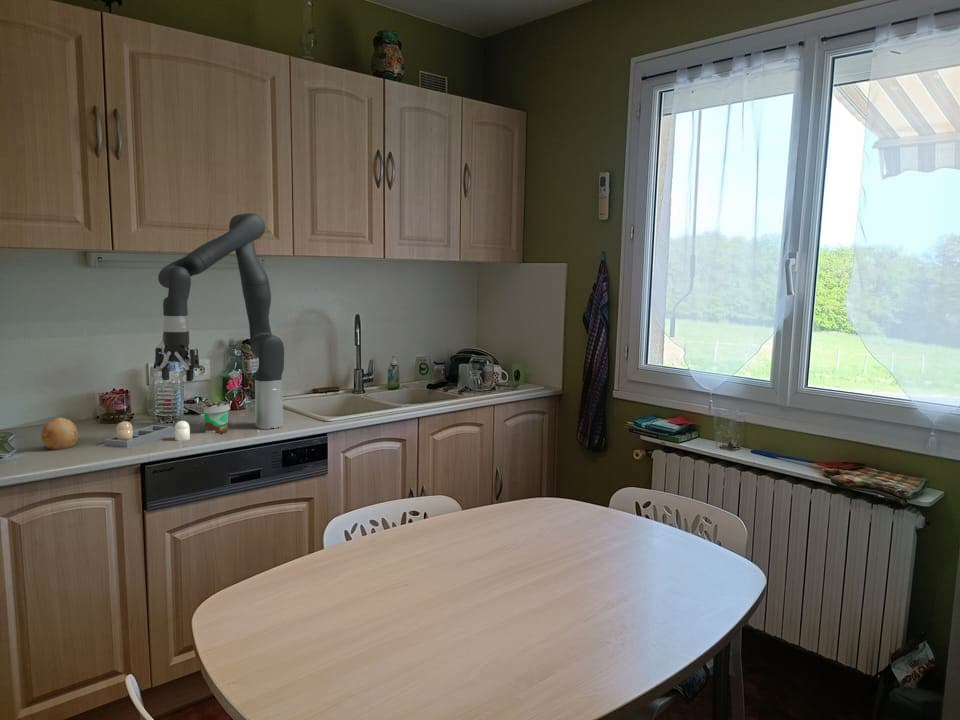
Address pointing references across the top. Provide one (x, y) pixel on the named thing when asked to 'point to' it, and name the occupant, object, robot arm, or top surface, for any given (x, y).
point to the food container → (216, 417)
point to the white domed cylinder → (182, 431)
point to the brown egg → (124, 431)
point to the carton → (140, 437)
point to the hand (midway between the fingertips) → (177, 380)
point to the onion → (59, 434)
